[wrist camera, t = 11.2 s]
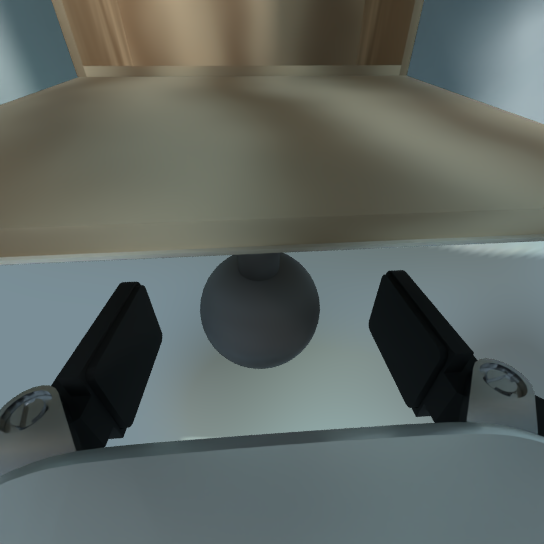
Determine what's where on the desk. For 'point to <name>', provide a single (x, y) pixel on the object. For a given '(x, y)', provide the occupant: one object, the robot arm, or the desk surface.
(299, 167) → the wooden box lid
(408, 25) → the wooden box
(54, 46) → the desk surface
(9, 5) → the desk surface
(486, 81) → the desk surface
